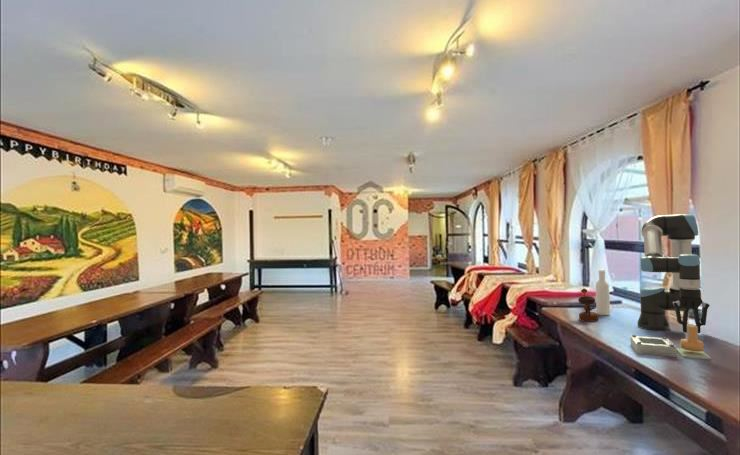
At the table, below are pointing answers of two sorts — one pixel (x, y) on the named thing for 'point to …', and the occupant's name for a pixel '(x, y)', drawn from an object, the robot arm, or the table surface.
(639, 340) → the housing
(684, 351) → the mat
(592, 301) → the brown wooden tiered piece
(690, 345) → the orange stamp
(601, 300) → the bottle
